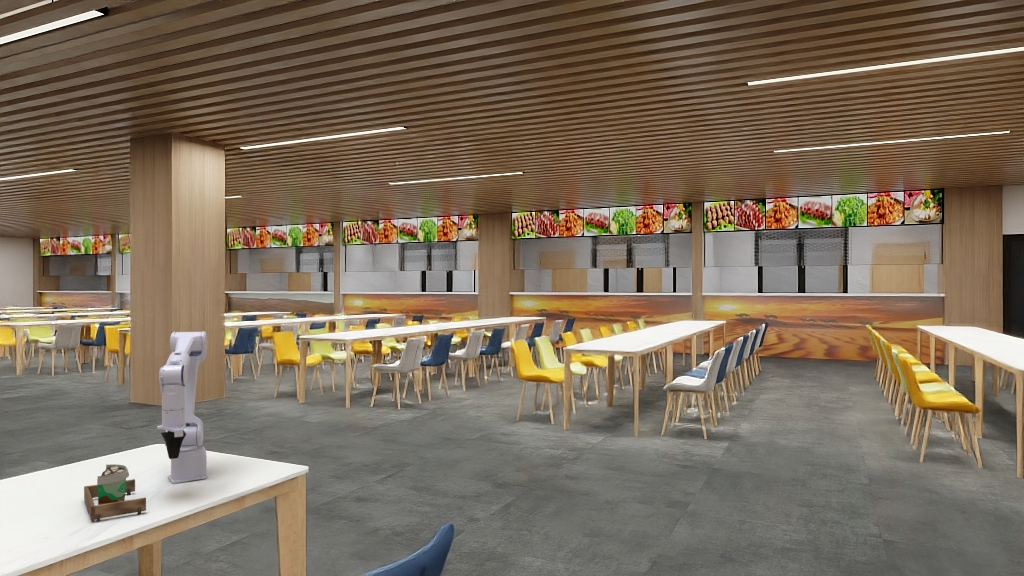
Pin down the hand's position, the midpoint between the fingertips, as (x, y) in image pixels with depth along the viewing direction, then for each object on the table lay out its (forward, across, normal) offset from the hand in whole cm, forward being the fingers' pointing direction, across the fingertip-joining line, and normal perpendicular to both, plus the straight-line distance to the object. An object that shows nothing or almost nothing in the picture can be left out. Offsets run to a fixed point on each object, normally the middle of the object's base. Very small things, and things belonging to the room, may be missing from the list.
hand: (173, 458), depth 192 cm
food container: (+11, +2, -14) cm, 18 cm away
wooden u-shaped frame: (+10, +1, -14) cm, 18 cm away
